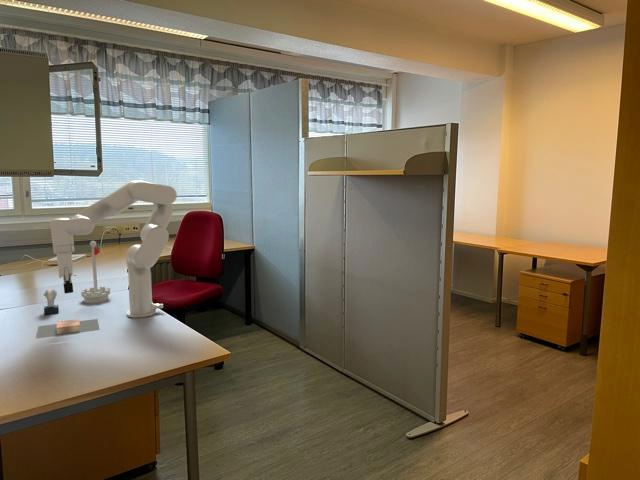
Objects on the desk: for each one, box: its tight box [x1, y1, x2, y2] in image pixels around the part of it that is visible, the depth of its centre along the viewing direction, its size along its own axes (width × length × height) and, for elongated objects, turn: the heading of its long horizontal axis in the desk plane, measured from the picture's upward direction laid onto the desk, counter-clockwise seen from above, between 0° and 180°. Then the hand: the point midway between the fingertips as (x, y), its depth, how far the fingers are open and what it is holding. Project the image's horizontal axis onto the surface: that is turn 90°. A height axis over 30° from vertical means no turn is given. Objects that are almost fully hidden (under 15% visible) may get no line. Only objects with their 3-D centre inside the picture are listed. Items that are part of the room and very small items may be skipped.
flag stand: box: [80, 240, 111, 304], centre depth 232 cm, size 13×13×30 cm
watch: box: [43, 288, 60, 316], centre depth 211 cm, size 6×8×11 cm
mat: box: [35, 318, 100, 339], centre depth 190 cm, size 22×16×1 cm
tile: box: [56, 318, 80, 334], centre depth 188 cm, size 8×2×9 cm
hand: (68, 292), depth 192 cm, fingers closed
